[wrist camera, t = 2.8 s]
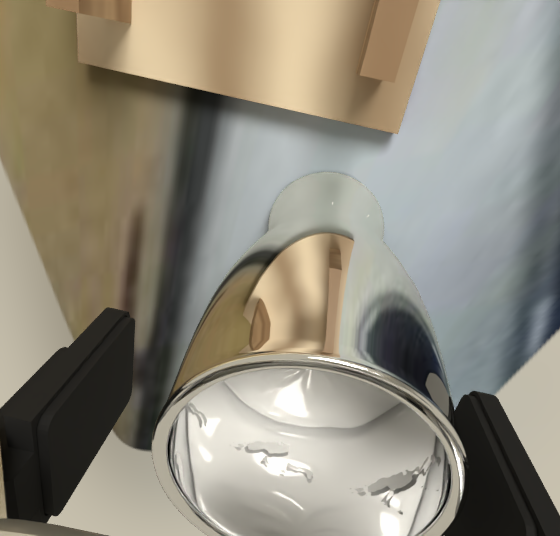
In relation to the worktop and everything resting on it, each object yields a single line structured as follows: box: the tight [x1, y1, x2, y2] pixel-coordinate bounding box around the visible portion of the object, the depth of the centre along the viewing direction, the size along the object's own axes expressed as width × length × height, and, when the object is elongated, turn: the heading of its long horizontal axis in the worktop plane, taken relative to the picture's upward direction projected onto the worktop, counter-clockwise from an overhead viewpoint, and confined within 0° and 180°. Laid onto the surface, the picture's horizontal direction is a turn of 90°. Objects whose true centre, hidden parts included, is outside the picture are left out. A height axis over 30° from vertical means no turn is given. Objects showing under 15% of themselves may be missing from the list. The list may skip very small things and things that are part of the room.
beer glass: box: [152, 172, 470, 536], centre depth 15 cm, size 7×7×15 cm
